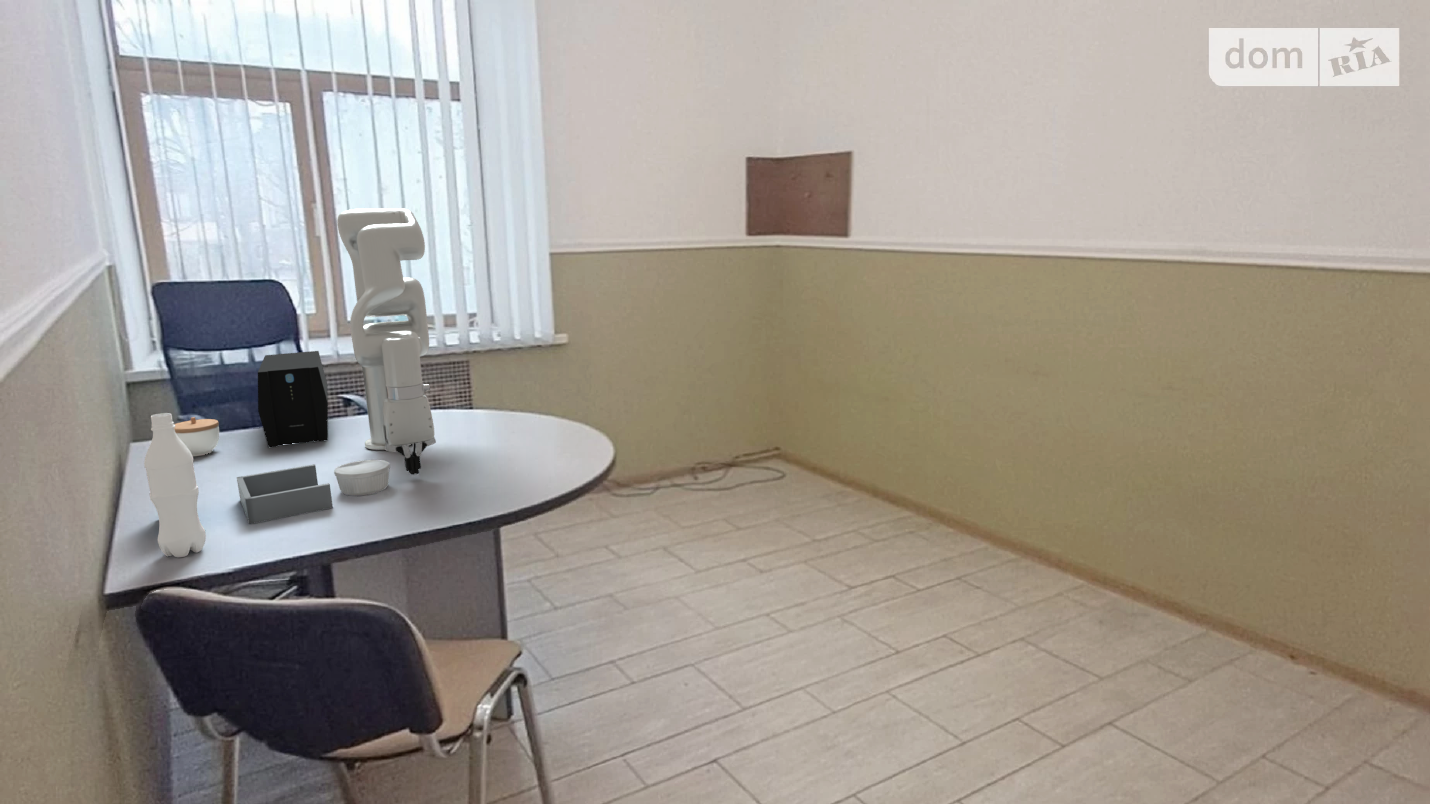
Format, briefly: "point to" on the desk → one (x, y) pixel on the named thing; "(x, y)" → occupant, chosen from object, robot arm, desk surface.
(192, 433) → the lidded jar
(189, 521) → the water bottle
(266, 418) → the uninterruptible power supply
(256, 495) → the box
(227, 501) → the desk surface
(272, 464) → the desk surface
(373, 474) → the ramekin
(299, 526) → the desk surface
